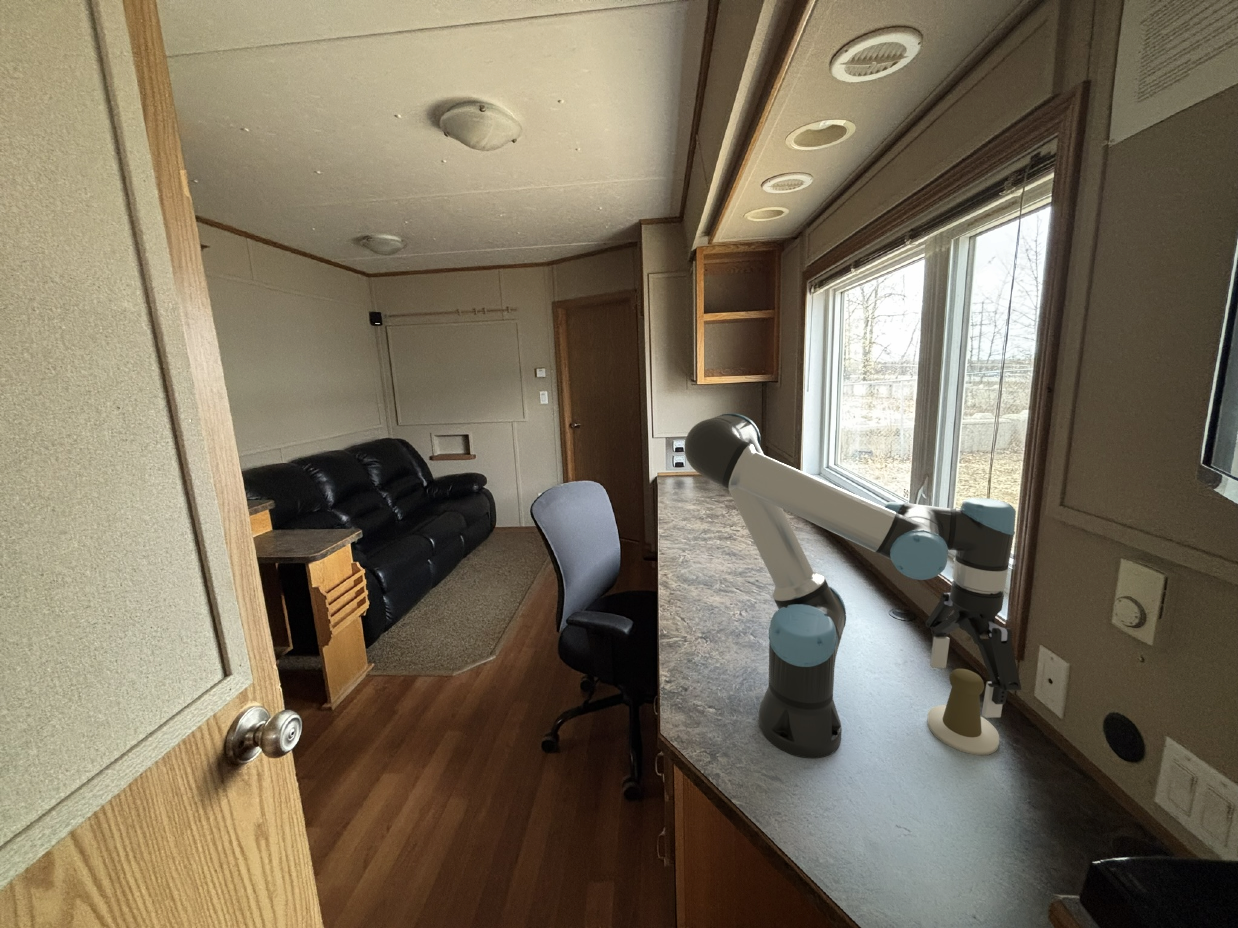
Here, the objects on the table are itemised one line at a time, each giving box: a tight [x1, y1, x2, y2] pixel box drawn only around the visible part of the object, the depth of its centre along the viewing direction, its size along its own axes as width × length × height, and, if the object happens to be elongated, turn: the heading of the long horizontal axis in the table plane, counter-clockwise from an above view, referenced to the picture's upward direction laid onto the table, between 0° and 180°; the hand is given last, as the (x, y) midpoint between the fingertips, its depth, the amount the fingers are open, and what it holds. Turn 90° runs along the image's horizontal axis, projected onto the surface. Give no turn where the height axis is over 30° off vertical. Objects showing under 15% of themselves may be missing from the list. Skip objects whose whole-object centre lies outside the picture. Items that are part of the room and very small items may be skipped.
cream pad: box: [926, 704, 1000, 756], centre depth 89 cm, size 11×11×2 cm
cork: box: [942, 668, 985, 738], centre depth 88 cm, size 6×6×11 cm
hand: (962, 689), depth 88 cm, fingers open, 13 cm apart
